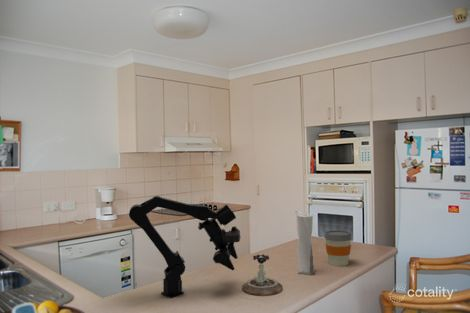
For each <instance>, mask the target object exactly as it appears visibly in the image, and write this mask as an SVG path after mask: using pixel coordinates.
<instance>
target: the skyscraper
mask: <svg viewBox="0 0 470 313" xmlns="http://www.w3.org/2000/svg"><path fill="white" fill-rule="evenodd" d="M298 213H300V214H299V215H298ZM295 215H296V229H297V230H296V231H297V237H298V244H297V264H298V272H297V274H298V275H305V276H307V275H308V276H314V275H315V274H316V271H317V269H314V267H315V265H314V255H313V254H314V253H313V244H312V243H313V241H312V233H313V218H314V215H313V214H311V213H308V212H307V213H303V212H301V211H300V210H295Z"/></svg>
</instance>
